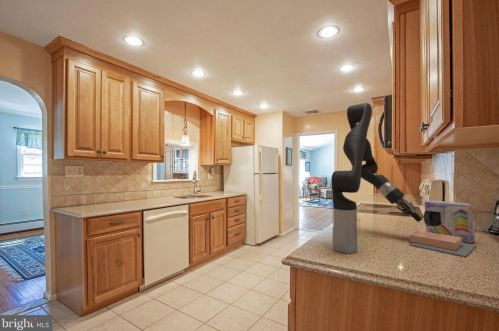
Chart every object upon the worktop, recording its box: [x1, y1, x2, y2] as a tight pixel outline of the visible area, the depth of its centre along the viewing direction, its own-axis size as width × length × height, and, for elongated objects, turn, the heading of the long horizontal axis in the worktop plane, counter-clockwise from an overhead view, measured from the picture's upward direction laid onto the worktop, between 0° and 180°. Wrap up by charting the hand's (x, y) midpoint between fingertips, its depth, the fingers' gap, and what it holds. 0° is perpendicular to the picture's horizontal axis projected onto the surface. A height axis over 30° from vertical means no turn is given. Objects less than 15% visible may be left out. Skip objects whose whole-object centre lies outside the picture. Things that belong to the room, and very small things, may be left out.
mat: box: [409, 242, 477, 258], centre depth 102 cm, size 20×18×1 cm
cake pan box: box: [423, 200, 476, 244], centre depth 115 cm, size 19×5×18 cm, turn 23°
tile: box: [408, 230, 463, 251], centre depth 104 cm, size 12×3×16 cm
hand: (420, 220), depth 109 cm, fingers closed
